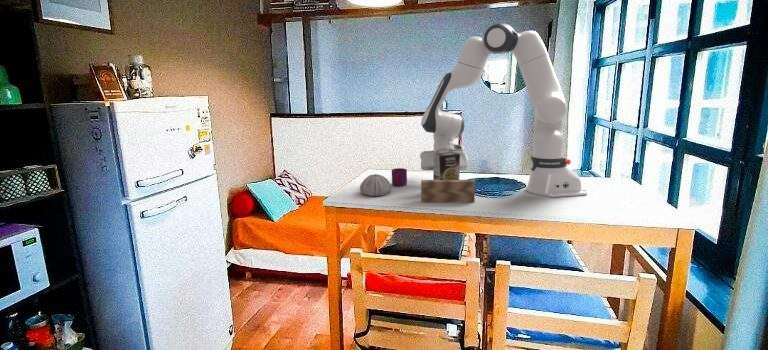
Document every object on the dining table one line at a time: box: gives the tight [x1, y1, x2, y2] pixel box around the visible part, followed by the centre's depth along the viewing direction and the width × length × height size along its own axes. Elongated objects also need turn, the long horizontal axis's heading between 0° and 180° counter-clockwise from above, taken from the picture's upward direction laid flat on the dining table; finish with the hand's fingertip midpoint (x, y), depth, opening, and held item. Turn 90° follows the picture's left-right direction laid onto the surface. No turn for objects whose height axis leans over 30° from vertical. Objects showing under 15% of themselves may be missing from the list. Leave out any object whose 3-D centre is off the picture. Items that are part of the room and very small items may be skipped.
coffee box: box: [432, 152, 461, 180], centre depth 163 cm, size 9×6×16 cm
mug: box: [391, 167, 408, 187], centre depth 176 cm, size 7×10×7 cm
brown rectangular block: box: [420, 179, 476, 203], centre depth 153 cm, size 20×5×8 cm, turn 85°
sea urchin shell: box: [359, 173, 392, 197], centre depth 165 cm, size 13×14×8 cm
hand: (444, 177), depth 169 cm, fingers closed
